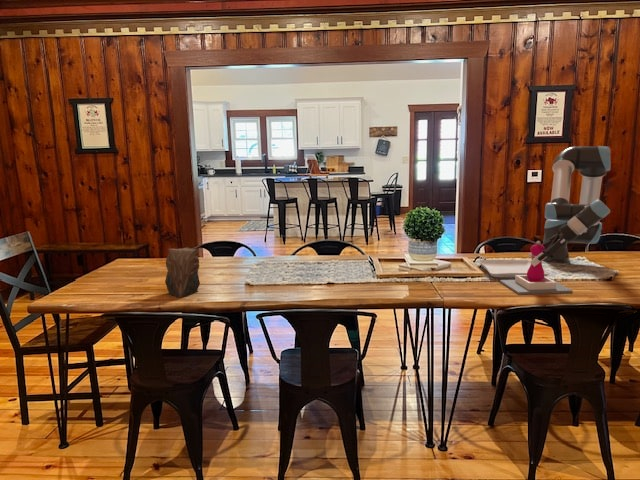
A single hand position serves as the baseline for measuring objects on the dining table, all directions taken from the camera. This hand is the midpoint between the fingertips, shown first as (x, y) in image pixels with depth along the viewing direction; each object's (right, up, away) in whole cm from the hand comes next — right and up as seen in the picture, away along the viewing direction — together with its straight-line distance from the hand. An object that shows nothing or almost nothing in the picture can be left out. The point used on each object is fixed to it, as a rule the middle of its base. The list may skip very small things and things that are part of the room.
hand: (531, 260), depth 205 cm
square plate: (+2, -8, +26) cm, 27 cm away
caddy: (+2, -12, +2) cm, 12 cm away
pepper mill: (+3, -11, +3) cm, 12 cm away
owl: (-155, -15, -1) cm, 156 cm away
